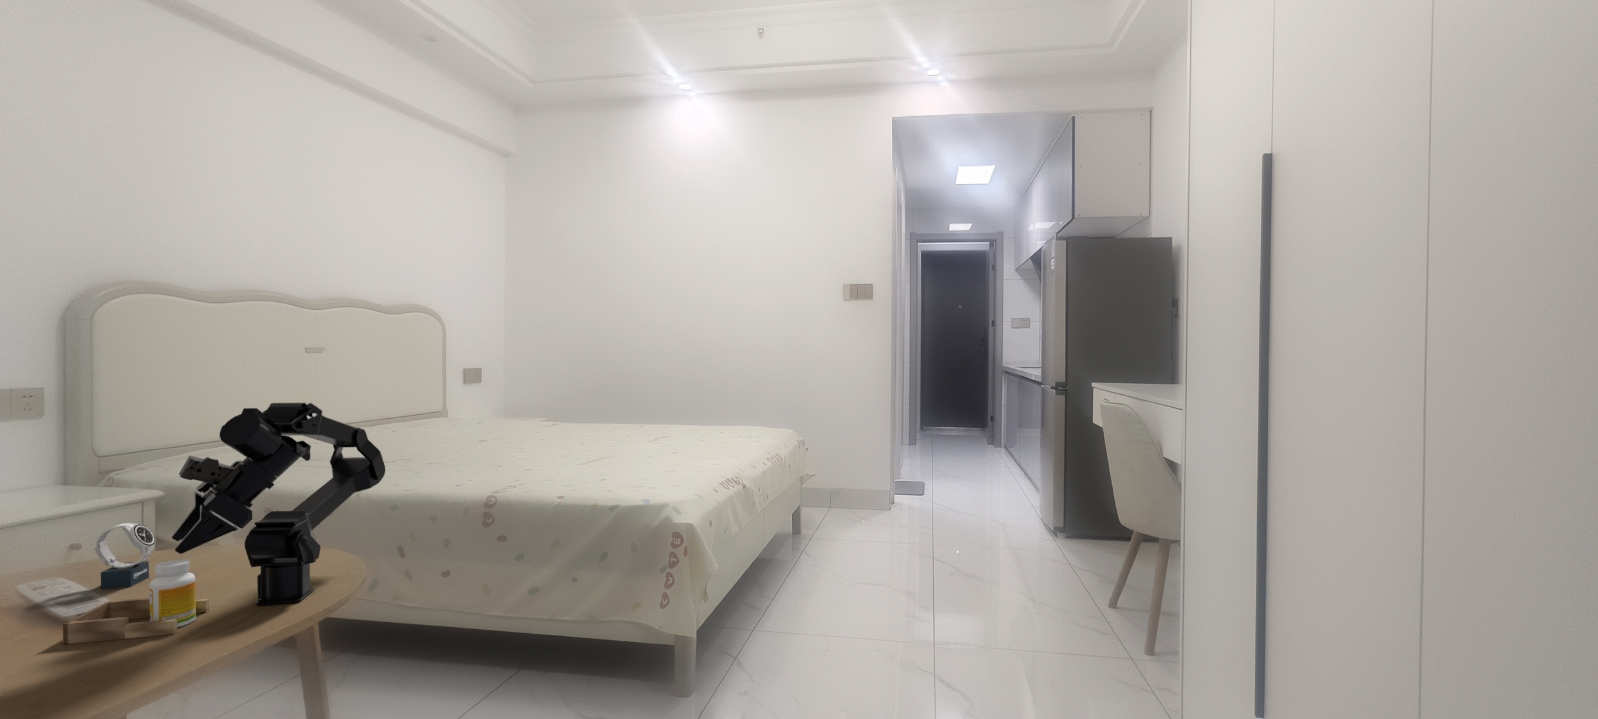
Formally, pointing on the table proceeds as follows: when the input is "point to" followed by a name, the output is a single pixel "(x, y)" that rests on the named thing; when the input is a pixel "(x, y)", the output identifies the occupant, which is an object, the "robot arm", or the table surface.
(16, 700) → the table surface
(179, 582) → the supplement bottle
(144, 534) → the watch
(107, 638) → the jig
